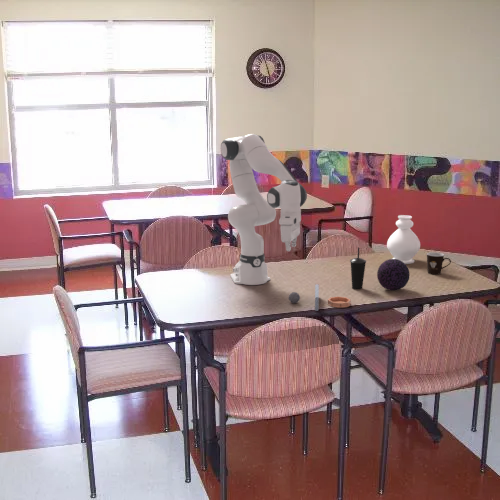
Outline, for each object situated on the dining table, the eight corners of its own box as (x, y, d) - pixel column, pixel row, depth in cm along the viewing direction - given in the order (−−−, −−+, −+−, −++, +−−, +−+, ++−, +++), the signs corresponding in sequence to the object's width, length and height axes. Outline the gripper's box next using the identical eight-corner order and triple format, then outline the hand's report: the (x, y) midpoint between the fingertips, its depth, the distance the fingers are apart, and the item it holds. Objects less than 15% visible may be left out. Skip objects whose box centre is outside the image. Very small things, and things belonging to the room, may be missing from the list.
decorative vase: (382, 257, 396) (384, 213, 390) (414, 256, 397) (416, 213, 391) (390, 265, 378) (393, 219, 373) (423, 264, 379) (426, 219, 374)
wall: (315, 296, 323) (315, 284, 322) (318, 296, 323) (318, 284, 322) (314, 310, 304) (315, 297, 303) (318, 310, 304) (318, 297, 303)
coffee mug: (422, 272, 364) (423, 253, 361) (432, 270, 369) (434, 251, 366) (440, 277, 355) (441, 258, 352) (451, 274, 360) (452, 255, 357)
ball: (286, 302, 316) (286, 291, 315) (296, 300, 318) (296, 290, 317) (291, 305, 311) (291, 294, 310) (301, 303, 313) (301, 293, 312)
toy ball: (371, 286, 339) (372, 256, 335) (399, 284, 343) (401, 254, 339) (385, 295, 325) (386, 264, 321) (414, 293, 329) (416, 262, 325)
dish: (324, 302, 315) (324, 298, 315) (343, 299, 319) (343, 295, 319) (334, 308, 306) (334, 304, 306) (354, 306, 310) (354, 301, 310)
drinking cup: (357, 291, 332) (358, 250, 327) (345, 287, 338) (347, 247, 333) (368, 288, 336) (370, 247, 331) (357, 285, 342) (358, 245, 337)
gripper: (289, 213, 317) (289, 243, 320) (277, 221, 298) (278, 253, 301) (303, 214, 316) (303, 244, 318) (292, 221, 297) (292, 253, 299)
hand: (291, 248), depth 310 cm, fingers open, 8 cm apart
